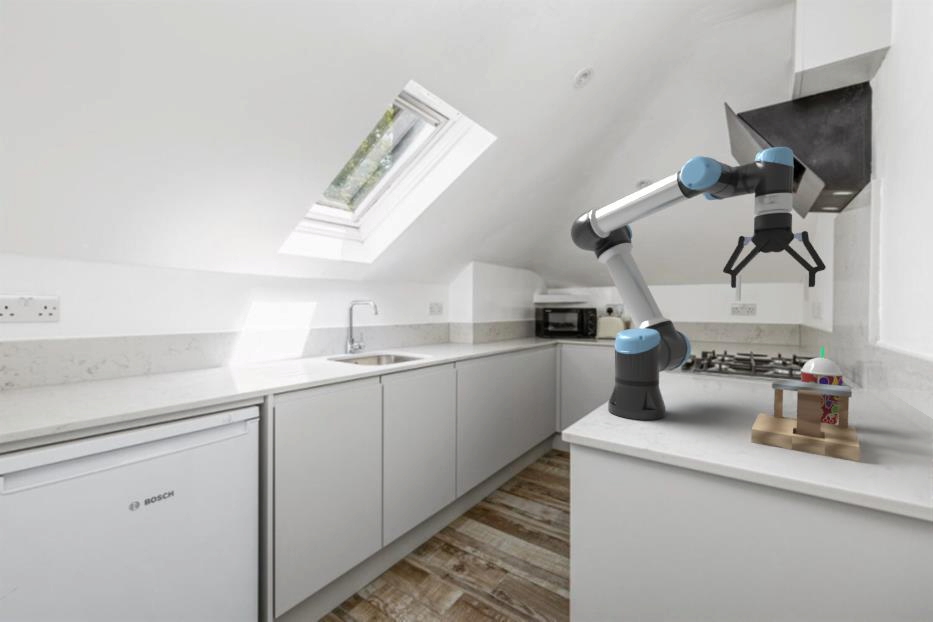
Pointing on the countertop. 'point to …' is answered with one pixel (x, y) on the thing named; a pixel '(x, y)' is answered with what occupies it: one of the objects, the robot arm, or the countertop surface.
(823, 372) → the smoothie
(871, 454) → the countertop surface
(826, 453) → the socket board
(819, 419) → the peg
